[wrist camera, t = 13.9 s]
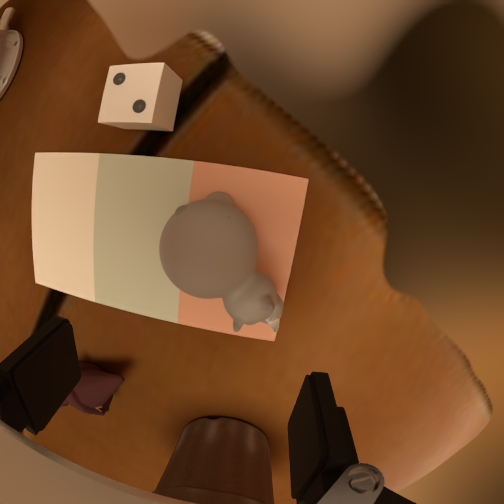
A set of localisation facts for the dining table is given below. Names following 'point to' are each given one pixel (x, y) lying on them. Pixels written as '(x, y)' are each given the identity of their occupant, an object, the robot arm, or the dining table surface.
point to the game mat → (150, 229)
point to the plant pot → (219, 464)
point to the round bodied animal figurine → (219, 260)
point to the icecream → (93, 390)
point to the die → (141, 97)
